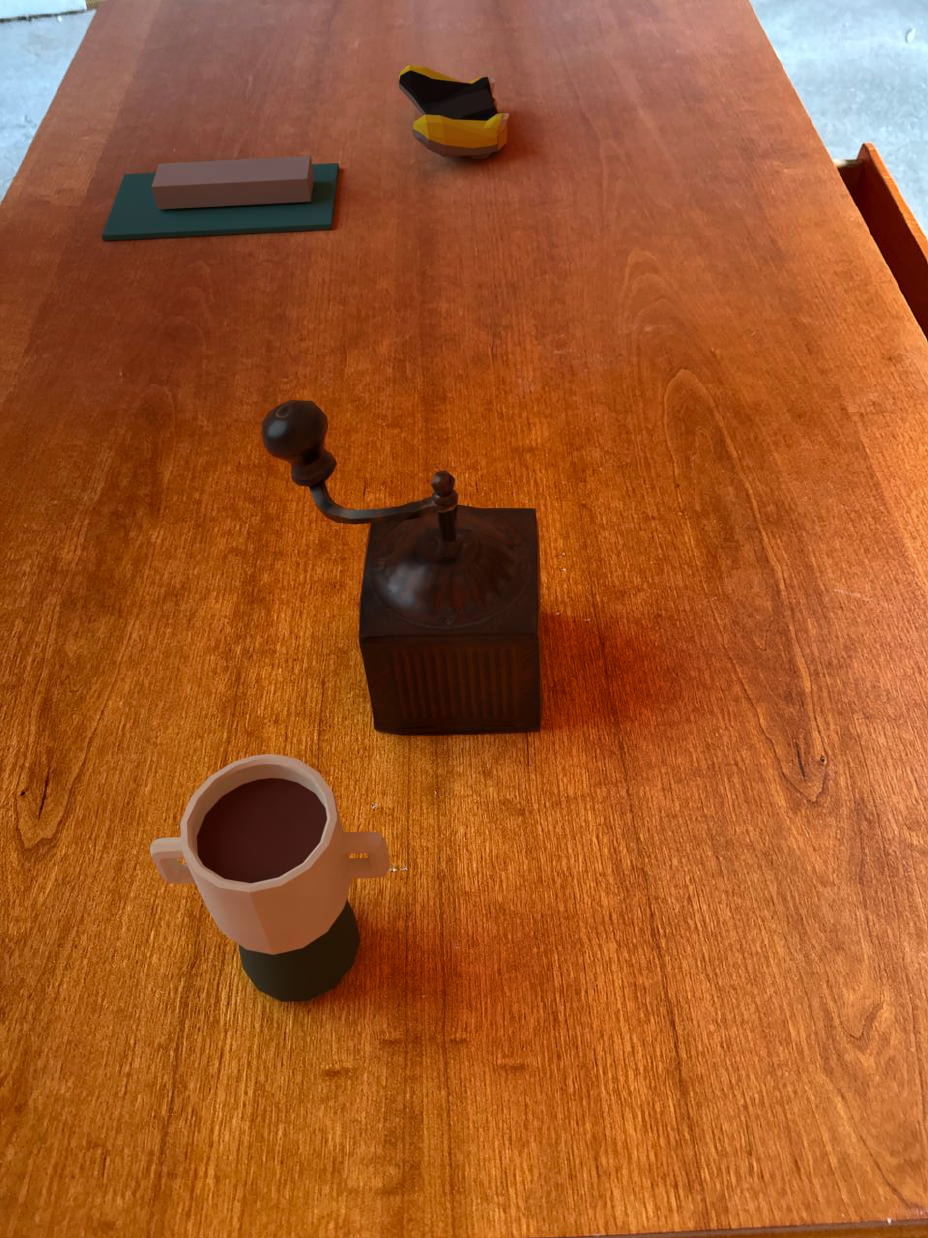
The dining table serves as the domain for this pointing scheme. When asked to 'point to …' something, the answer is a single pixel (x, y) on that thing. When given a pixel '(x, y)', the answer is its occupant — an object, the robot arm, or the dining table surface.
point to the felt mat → (217, 212)
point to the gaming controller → (454, 113)
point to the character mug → (275, 871)
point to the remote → (233, 182)
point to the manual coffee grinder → (434, 597)
